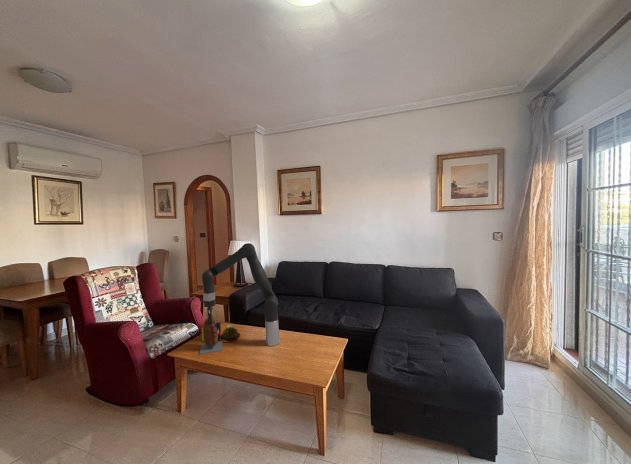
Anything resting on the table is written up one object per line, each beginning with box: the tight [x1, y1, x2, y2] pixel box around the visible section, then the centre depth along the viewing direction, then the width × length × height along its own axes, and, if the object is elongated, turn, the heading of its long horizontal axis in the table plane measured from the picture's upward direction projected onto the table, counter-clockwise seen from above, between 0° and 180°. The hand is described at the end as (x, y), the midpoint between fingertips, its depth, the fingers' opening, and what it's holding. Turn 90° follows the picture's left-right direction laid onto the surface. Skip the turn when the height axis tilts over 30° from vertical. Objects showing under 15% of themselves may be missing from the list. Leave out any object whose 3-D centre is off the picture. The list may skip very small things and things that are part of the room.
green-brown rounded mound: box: [217, 324, 241, 343], centre depth 192 cm, size 17×16×10 cm
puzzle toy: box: [201, 322, 222, 342], centre depth 192 cm, size 10×10×10 cm
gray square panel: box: [199, 341, 223, 356], centre depth 176 cm, size 14×13×1 cm
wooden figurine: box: [202, 317, 218, 346], centre depth 176 cm, size 12×6×18 cm, turn 63°
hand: (210, 322), depth 175 cm, fingers closed on wooden figurine, 7 cm apart
